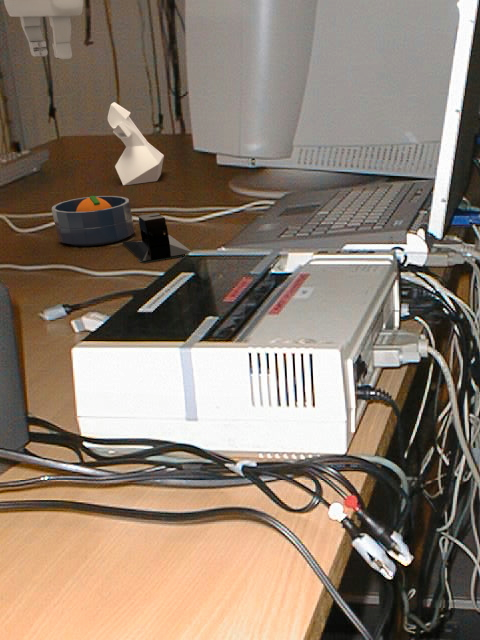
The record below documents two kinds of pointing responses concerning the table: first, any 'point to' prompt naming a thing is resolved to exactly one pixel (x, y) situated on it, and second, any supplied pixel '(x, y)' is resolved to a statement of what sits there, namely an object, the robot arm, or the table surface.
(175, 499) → the table surface
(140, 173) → the white angular stand
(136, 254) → the black winged block
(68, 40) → the robot arm
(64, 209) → the bowl
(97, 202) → the toy tangerine
